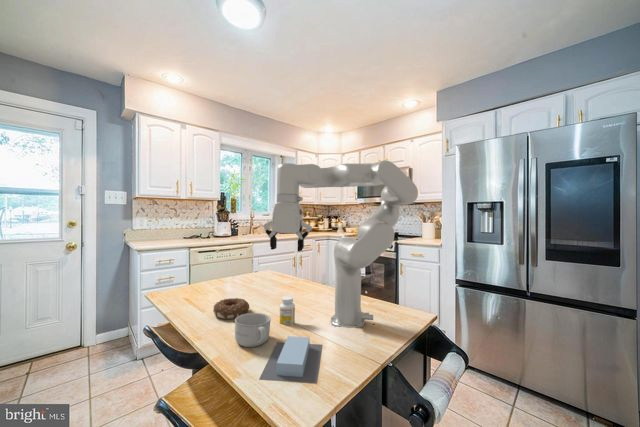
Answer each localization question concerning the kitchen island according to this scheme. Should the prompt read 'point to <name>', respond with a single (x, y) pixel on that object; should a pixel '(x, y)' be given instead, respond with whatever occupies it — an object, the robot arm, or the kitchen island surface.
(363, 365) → the kitchen island surface
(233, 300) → the donut
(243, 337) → the teacup
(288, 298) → the supplement bottle
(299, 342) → the light blue block
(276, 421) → the kitchen island surface
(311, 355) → the mat
